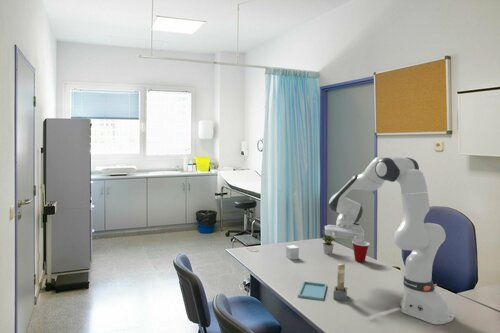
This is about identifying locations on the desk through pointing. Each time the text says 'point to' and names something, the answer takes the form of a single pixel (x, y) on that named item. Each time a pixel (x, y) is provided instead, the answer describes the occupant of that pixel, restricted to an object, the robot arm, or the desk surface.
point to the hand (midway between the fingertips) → (344, 238)
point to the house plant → (327, 243)
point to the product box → (292, 252)
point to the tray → (312, 290)
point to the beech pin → (340, 277)
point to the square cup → (340, 294)
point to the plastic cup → (360, 250)
